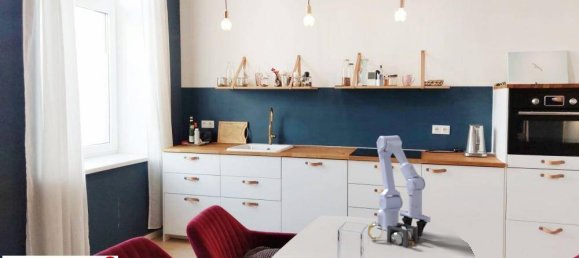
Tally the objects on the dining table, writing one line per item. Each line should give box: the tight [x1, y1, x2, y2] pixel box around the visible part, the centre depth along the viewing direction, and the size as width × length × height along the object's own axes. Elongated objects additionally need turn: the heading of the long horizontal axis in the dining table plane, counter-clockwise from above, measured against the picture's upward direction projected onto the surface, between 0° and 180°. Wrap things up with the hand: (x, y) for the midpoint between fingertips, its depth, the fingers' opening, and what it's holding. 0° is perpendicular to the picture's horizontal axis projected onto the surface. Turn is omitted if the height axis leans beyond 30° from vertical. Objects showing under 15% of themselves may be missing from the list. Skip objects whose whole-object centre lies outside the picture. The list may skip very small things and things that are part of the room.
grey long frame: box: [391, 225, 423, 246], centre depth 207 cm, size 16×5×5 cm, turn 132°
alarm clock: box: [367, 221, 384, 241], centre depth 208 cm, size 7×3×8 cm, turn 91°
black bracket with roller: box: [386, 222, 419, 248], centre depth 204 cm, size 10×8×7 cm
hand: (414, 234), depth 210 cm, fingers closed on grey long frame, 5 cm apart
